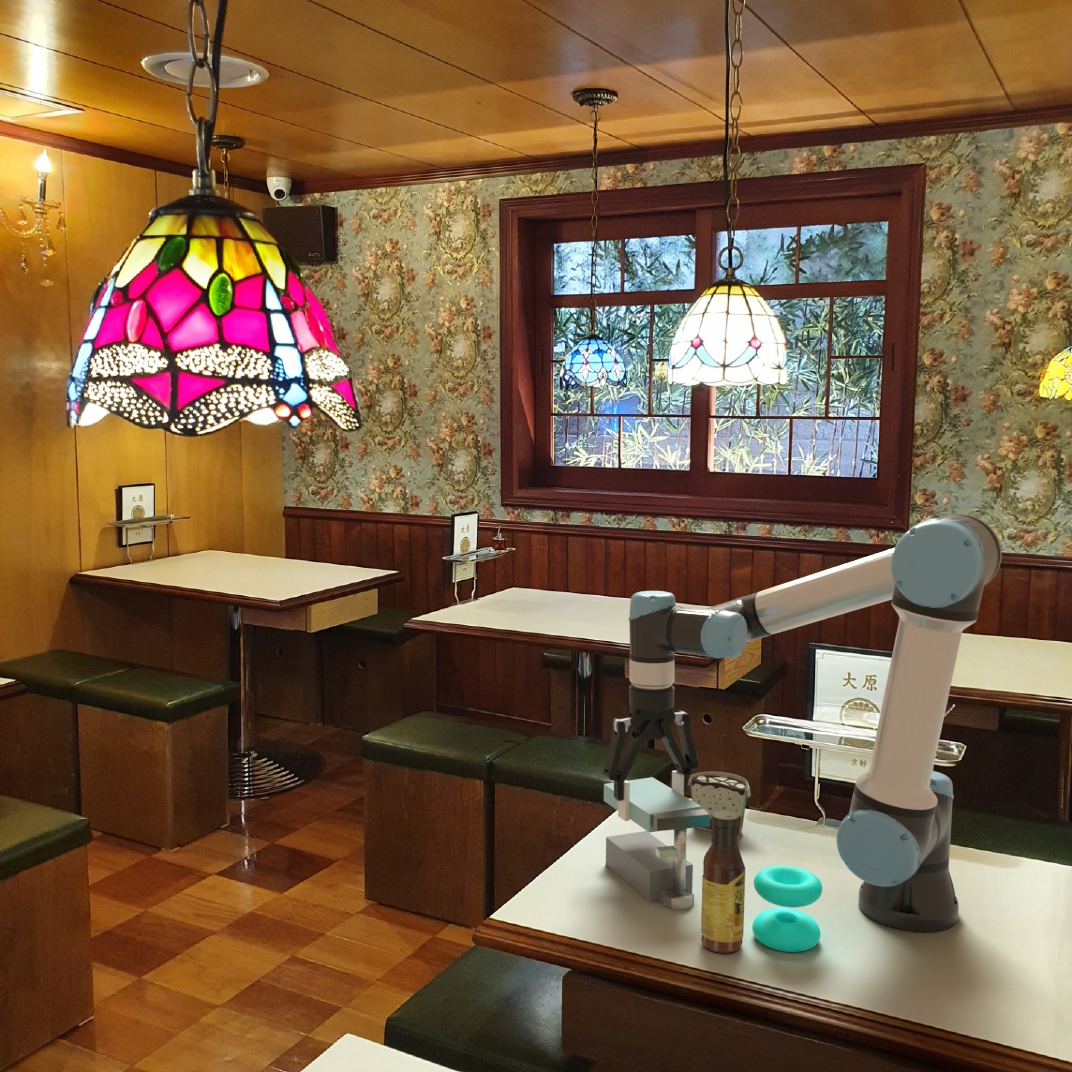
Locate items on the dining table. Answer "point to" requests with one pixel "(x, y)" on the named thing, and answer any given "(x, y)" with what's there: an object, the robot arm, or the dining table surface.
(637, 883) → the case
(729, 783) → the food container
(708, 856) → the sauce bottle
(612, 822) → the dining table surface
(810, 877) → the donuts
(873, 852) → the robot arm
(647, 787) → the cover
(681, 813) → the key
